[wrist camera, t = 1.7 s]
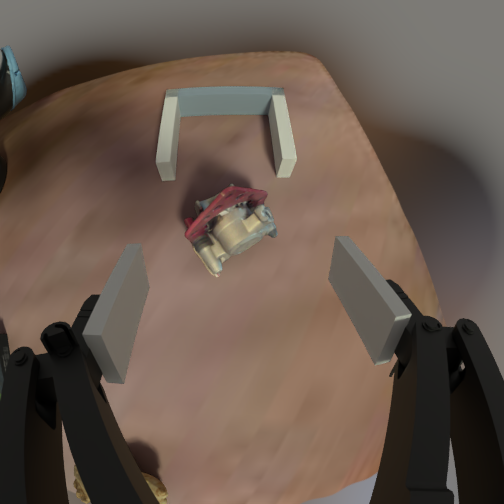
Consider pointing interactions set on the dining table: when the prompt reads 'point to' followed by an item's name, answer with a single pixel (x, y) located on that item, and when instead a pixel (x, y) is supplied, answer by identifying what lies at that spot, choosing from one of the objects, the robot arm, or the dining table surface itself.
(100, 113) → the dining table surface
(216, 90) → the cradle
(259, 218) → the brake caliper
